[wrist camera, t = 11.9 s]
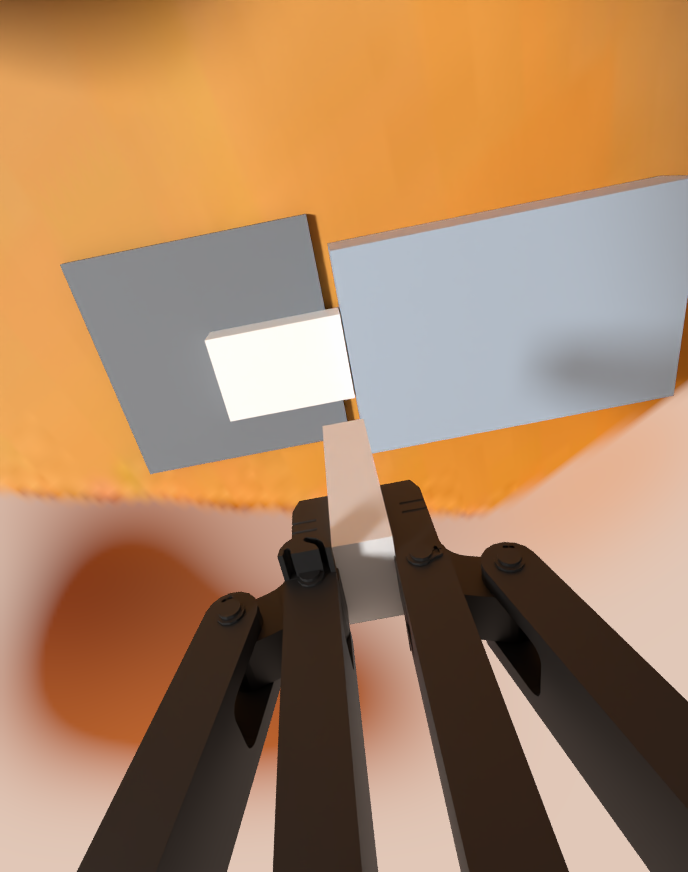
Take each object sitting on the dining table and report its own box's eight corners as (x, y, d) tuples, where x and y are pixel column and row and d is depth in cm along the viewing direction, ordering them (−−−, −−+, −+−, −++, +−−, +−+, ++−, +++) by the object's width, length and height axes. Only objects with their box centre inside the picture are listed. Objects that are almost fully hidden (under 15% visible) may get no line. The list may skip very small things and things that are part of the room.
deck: (361, 429, 39) (367, 454, 35) (327, 243, 33) (330, 251, 29) (639, 375, 38) (673, 395, 35) (660, 175, 32) (704, 175, 28)
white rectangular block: (234, 409, 37) (230, 421, 35) (210, 332, 34) (204, 340, 32) (352, 387, 37) (354, 397, 35) (338, 307, 34) (339, 314, 32)
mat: (152, 469, 39) (150, 473, 39) (64, 263, 32) (59, 264, 31) (349, 431, 39) (350, 435, 38) (306, 213, 32) (305, 214, 31)
